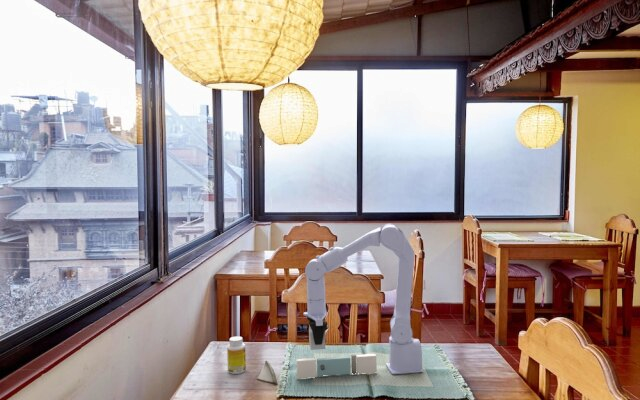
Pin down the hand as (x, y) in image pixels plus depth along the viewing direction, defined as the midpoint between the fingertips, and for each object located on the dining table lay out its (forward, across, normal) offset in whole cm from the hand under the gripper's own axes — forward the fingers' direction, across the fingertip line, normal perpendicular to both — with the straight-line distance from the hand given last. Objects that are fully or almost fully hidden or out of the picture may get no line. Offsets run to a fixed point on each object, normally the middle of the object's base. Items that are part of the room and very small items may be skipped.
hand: (317, 341), depth 146 cm
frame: (+8, +8, +5) cm, 12 cm away
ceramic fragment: (+9, +4, -15) cm, 18 cm away
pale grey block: (+2, 0, 0) cm, 2 cm away
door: (+8, +8, +4) cm, 12 cm away
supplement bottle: (+8, -1, -25) cm, 26 cm away
